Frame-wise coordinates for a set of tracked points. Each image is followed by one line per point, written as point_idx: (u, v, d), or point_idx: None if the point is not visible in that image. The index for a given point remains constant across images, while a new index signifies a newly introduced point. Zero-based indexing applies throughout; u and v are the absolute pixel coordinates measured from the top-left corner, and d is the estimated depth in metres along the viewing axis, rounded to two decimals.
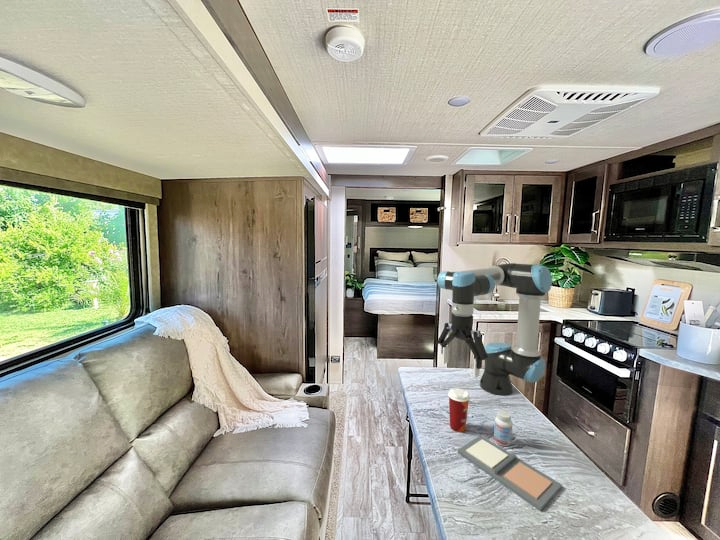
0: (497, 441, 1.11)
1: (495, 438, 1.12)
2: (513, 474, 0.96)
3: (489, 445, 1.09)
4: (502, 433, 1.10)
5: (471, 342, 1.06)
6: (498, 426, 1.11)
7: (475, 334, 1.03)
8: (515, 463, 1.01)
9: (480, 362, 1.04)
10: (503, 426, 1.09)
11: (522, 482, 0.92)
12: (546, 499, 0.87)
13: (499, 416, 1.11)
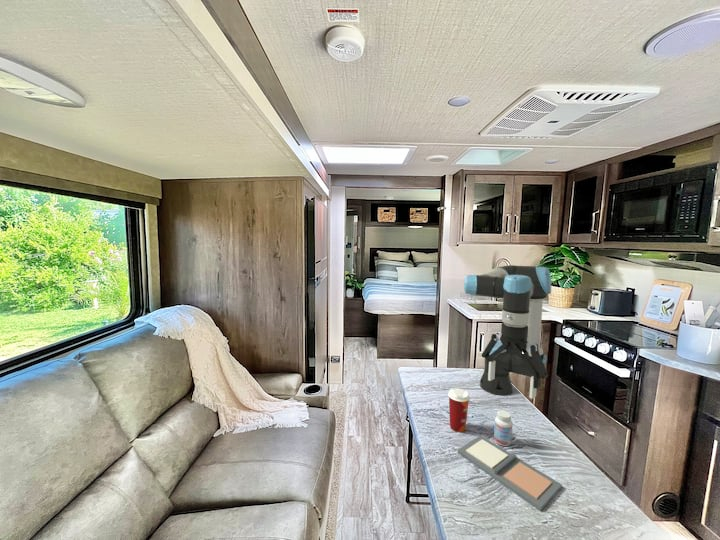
0: (497, 441, 1.11)
1: (495, 438, 1.12)
2: (513, 474, 0.96)
3: (489, 445, 1.09)
4: (502, 433, 1.10)
5: (527, 357, 0.91)
6: (498, 426, 1.11)
7: (533, 348, 0.89)
8: (515, 463, 1.01)
9: (538, 381, 0.89)
10: (503, 426, 1.09)
11: (522, 482, 0.92)
12: (546, 499, 0.87)
13: (499, 416, 1.11)
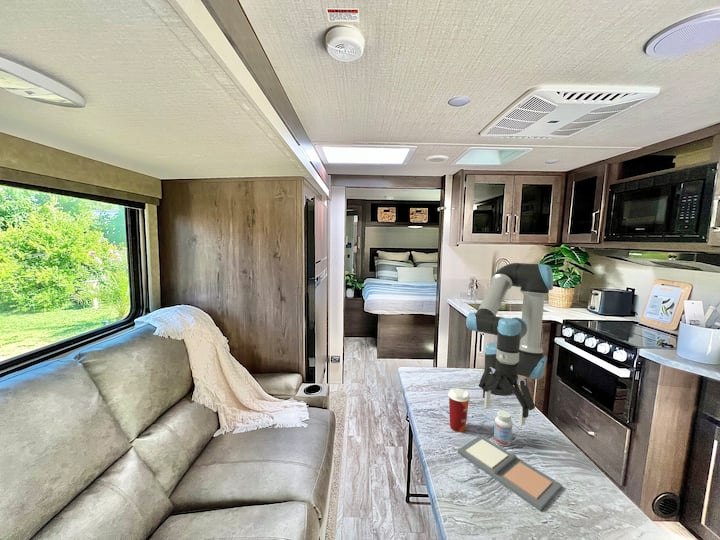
0: (497, 441, 1.11)
1: (495, 438, 1.12)
2: (513, 474, 0.96)
3: (489, 445, 1.09)
4: (502, 433, 1.10)
5: (517, 390, 1.06)
6: (498, 426, 1.11)
7: (522, 383, 1.04)
8: (515, 463, 1.01)
9: (527, 411, 1.04)
10: (503, 426, 1.09)
11: (522, 482, 0.92)
12: (546, 499, 0.87)
13: (499, 416, 1.11)
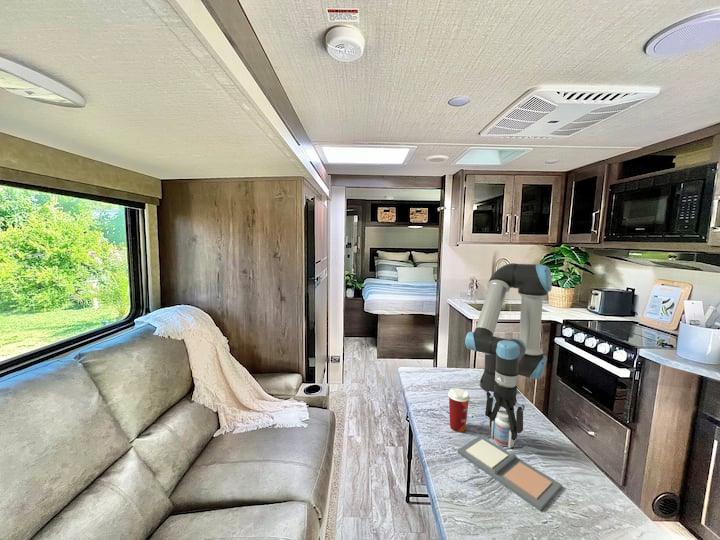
0: (497, 441, 1.11)
1: (495, 438, 1.12)
2: (513, 474, 0.96)
3: (489, 445, 1.09)
4: (502, 433, 1.10)
5: (512, 414, 1.09)
6: (498, 426, 1.11)
7: (520, 410, 1.05)
8: (515, 463, 1.01)
9: (515, 434, 1.08)
10: (504, 426, 1.09)
11: (522, 482, 0.92)
12: (546, 499, 0.87)
13: (499, 416, 1.11)
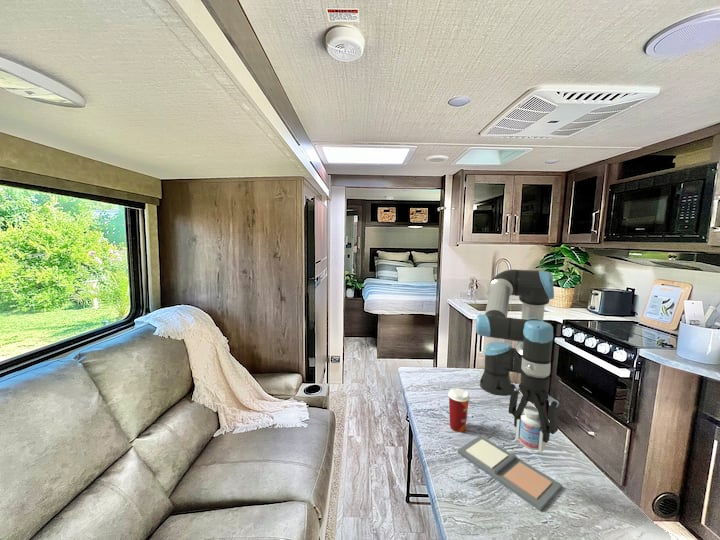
0: (525, 444, 0.91)
1: (522, 440, 0.92)
2: (513, 474, 0.96)
3: (489, 445, 1.09)
4: (531, 434, 0.89)
5: (543, 410, 0.88)
6: (525, 425, 0.90)
7: (554, 405, 0.85)
8: (515, 463, 1.01)
9: (548, 435, 0.88)
10: (533, 426, 0.89)
11: (522, 482, 0.92)
12: (546, 499, 0.87)
13: (527, 413, 0.91)
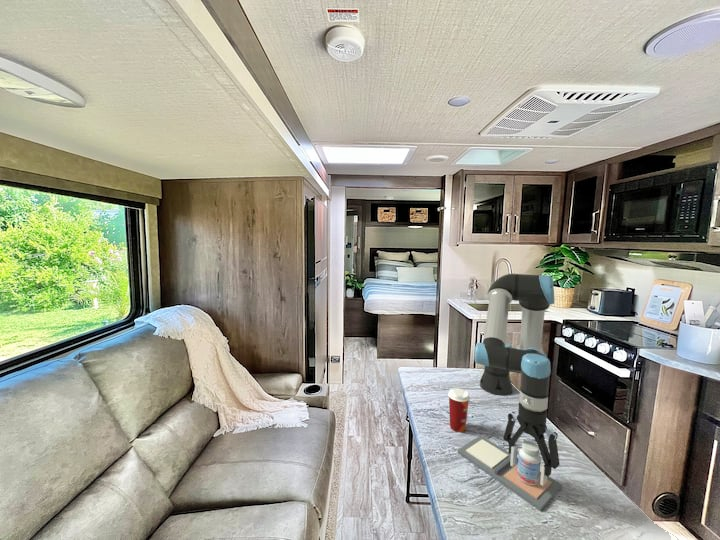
0: (522, 479, 0.92)
1: (519, 475, 0.93)
2: (513, 474, 0.96)
3: (489, 445, 1.09)
4: (529, 470, 0.91)
5: (542, 443, 0.89)
6: (523, 461, 0.92)
7: (552, 438, 0.86)
8: None
9: (550, 469, 0.88)
10: (530, 462, 0.90)
11: (522, 482, 0.92)
12: (546, 499, 0.87)
13: (525, 449, 0.92)
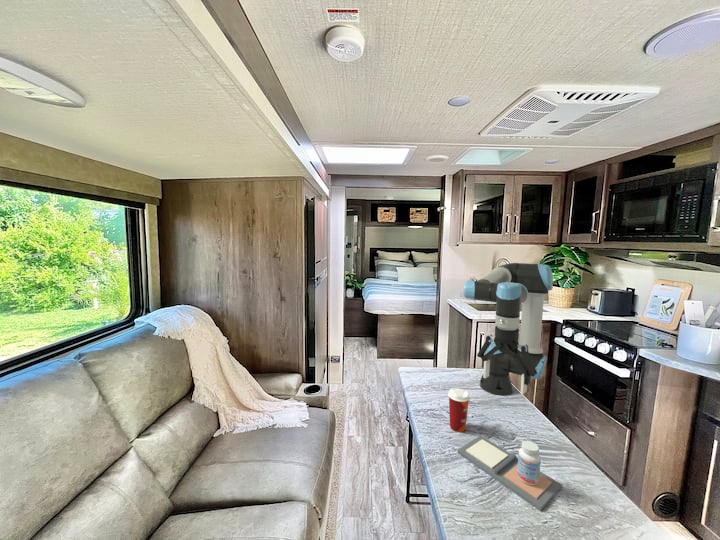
0: (522, 479, 0.92)
1: (519, 475, 0.93)
2: (513, 474, 0.96)
3: (489, 445, 1.09)
4: (529, 470, 0.91)
5: (518, 357, 1.01)
6: (523, 460, 0.92)
7: (523, 349, 0.99)
8: (515, 463, 1.01)
9: (528, 378, 0.99)
10: (530, 461, 0.90)
11: (522, 482, 0.92)
12: (546, 499, 0.87)
13: (524, 449, 0.92)
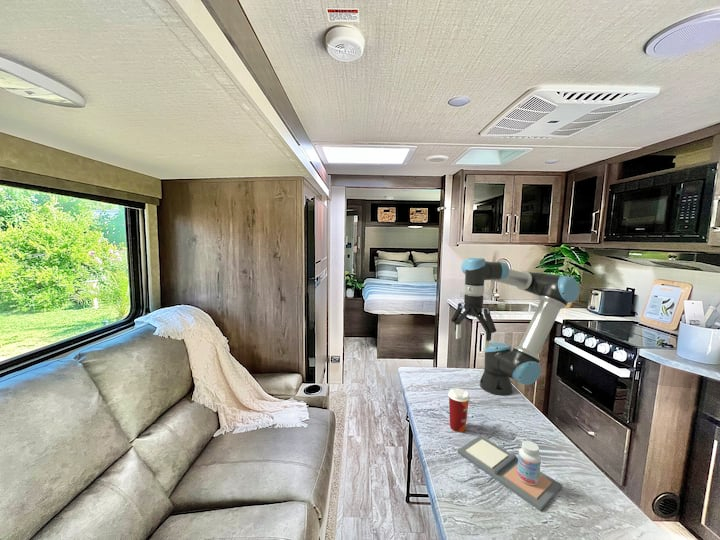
0: (522, 479, 0.92)
1: (519, 475, 0.93)
2: (513, 474, 0.96)
3: (489, 445, 1.09)
4: (529, 470, 0.91)
5: (482, 318, 1.23)
6: (523, 460, 0.92)
7: (485, 311, 1.21)
8: (515, 463, 1.01)
9: (490, 335, 1.21)
10: (530, 461, 0.90)
11: (522, 482, 0.92)
12: (546, 499, 0.87)
13: (524, 449, 0.92)
